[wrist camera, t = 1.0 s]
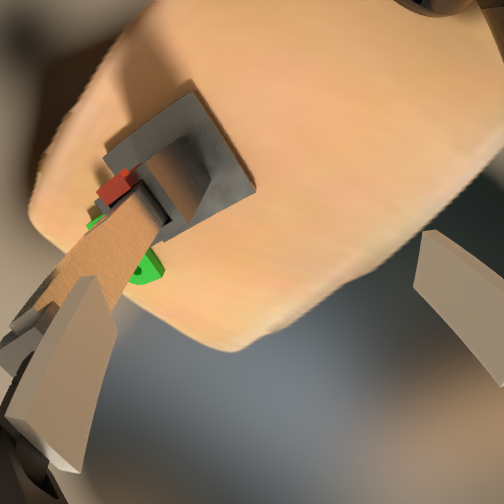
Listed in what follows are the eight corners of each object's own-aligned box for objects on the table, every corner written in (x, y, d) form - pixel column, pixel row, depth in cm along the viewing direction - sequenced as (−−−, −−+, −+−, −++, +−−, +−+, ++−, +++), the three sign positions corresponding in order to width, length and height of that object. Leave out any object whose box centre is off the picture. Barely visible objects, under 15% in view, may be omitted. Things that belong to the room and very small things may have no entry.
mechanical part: (92, 219, 40) (64, 247, 33) (120, 202, 39) (93, 229, 32) (136, 281, 46) (117, 315, 39) (165, 269, 44) (149, 304, 37)
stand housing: (194, 90, 31) (150, 97, 19) (256, 188, 37) (250, 247, 25) (107, 154, 35) (42, 196, 23) (167, 237, 41) (130, 305, 29)
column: (189, 145, 32) (28, 320, 9) (206, 171, 34) (93, 381, 10) (142, 176, 34) (-14, 351, 11) (159, 200, 36) (32, 394, 12)
